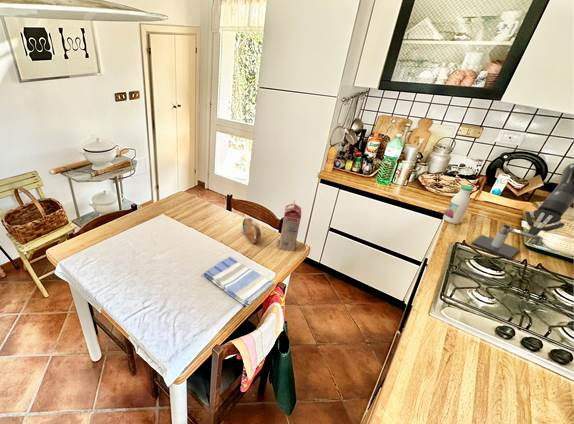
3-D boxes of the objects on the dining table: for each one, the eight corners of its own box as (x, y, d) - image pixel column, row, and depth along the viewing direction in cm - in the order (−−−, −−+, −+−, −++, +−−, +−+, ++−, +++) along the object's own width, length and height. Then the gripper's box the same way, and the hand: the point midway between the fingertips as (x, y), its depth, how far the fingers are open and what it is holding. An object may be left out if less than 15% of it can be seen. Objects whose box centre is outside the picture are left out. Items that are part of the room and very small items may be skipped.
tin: (241, 229, 153) (242, 215, 149) (247, 229, 154) (248, 214, 150) (254, 246, 140) (256, 231, 136) (260, 245, 141) (262, 230, 137)
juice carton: (279, 248, 140) (286, 205, 129) (279, 240, 145) (286, 199, 135) (294, 250, 138) (302, 207, 127) (294, 242, 144) (302, 201, 133)
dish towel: (247, 309, 107) (248, 304, 105) (201, 276, 122) (201, 271, 121) (276, 286, 117) (277, 281, 116) (230, 258, 132) (231, 253, 131)
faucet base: (518, 251, 140) (527, 236, 136) (509, 259, 134) (519, 244, 130) (481, 236, 150) (488, 222, 146) (471, 244, 144) (479, 230, 141)
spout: (497, 234, 139) (502, 225, 137) (498, 231, 141) (502, 223, 139) (539, 246, 130) (545, 237, 128) (539, 243, 132) (544, 234, 130)
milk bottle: (457, 218, 166) (474, 185, 156) (461, 225, 160) (479, 190, 150) (441, 215, 169) (456, 182, 159) (444, 222, 162) (460, 188, 153)
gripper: (537, 194, 135) (512, 225, 136) (580, 206, 125) (553, 239, 126) (534, 201, 140) (510, 231, 141) (576, 214, 130) (550, 246, 131)
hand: (531, 235), depth 133 cm, fingers closed
